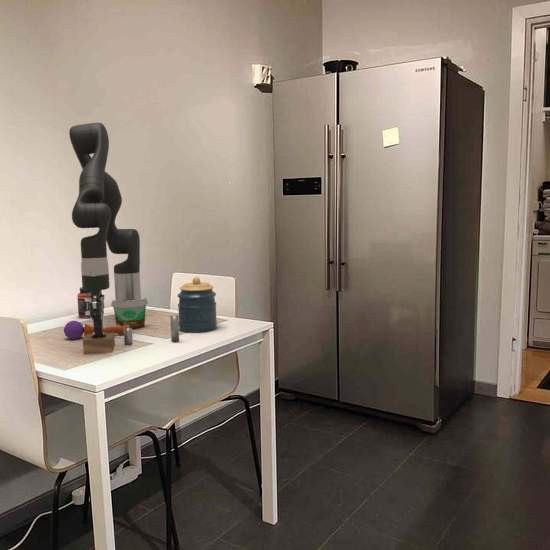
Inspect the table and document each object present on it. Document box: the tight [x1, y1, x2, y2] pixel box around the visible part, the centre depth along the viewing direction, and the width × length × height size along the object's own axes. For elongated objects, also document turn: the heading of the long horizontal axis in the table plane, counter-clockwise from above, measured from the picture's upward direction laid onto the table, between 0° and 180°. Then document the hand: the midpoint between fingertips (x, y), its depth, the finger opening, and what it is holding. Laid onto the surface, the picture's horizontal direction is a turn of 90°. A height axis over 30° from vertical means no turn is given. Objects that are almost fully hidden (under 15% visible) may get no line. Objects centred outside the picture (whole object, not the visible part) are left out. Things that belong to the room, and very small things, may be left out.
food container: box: [110, 297, 149, 331], centre depth 188 cm, size 12×6×10 cm, turn 114°
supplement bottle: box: [77, 287, 91, 319], centre depth 209 cm, size 6×6×11 cm
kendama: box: [63, 320, 129, 340], centre depth 177 cm, size 6×6×20 cm
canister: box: [177, 276, 218, 333], centre depth 186 cm, size 13×13×18 cm
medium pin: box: [169, 314, 180, 343], centre depth 170 cm, size 2×2×8 cm
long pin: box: [94, 308, 104, 338], centre depth 161 cm, size 2×2×12 cm
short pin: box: [123, 328, 134, 346], centre depth 167 cm, size 2×2×5 cm
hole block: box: [82, 332, 116, 355], centre depth 162 cm, size 8×8×4 cm
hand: (98, 331), depth 161 cm, fingers closed on long pin, 2 cm apart
